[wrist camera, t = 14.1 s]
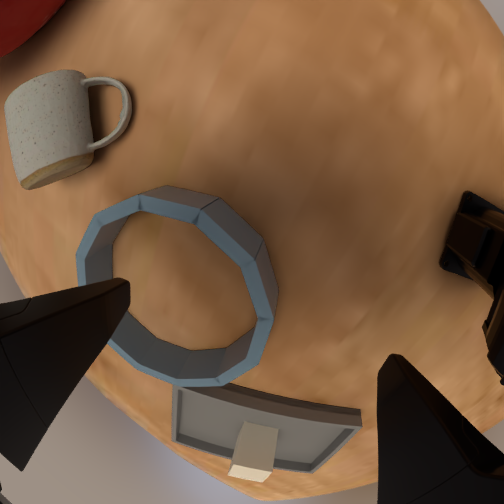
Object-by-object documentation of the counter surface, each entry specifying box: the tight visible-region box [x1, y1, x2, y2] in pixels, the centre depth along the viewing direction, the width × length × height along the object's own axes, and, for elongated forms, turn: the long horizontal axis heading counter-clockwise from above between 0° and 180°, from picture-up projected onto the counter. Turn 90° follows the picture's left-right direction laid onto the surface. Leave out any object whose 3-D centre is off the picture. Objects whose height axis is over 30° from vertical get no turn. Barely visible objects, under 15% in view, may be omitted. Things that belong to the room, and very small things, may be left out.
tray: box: [172, 383, 362, 474], centre depth 27 cm, size 20×14×2 cm
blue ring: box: [76, 185, 279, 387], centre depth 21 cm, size 16×16×4 cm
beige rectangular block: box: [228, 421, 278, 482], centre depth 24 cm, size 4×4×6 cm
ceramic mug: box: [4, 70, 132, 190], centre depth 15 cm, size 11×8×8 cm
